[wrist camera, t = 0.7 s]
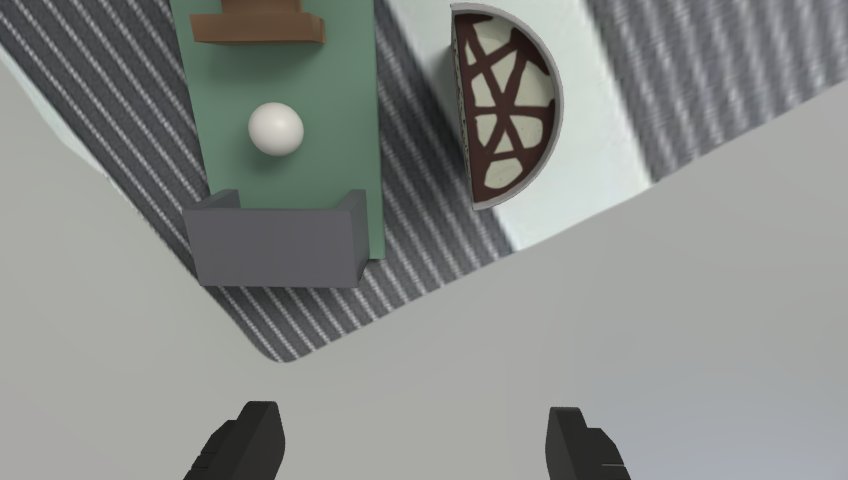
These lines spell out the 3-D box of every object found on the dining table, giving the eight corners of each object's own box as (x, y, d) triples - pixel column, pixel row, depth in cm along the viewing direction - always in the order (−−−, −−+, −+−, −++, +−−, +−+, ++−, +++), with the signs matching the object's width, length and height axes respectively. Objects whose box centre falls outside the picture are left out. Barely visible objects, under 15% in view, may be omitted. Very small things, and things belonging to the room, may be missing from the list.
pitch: (153, -117, 28) (143, -124, 27) (367, -124, 27) (365, -131, 26) (229, 252, 38) (224, 257, 37) (385, 254, 38) (384, 258, 37)
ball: (258, 101, 32) (233, 104, 28) (307, 100, 32) (289, 103, 28) (265, 151, 34) (243, 160, 30) (313, 151, 33) (296, 160, 30)
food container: (538, 171, 34) (573, 206, 25) (466, 181, 35) (474, 218, 25) (531, 8, 30) (571, -25, 20) (448, 22, 30) (450, -3, 21)
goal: (224, 188, 35) (181, 210, 29) (365, 189, 34) (350, 211, 29) (237, 254, 37) (199, 285, 32) (369, 255, 37) (356, 287, 31)
